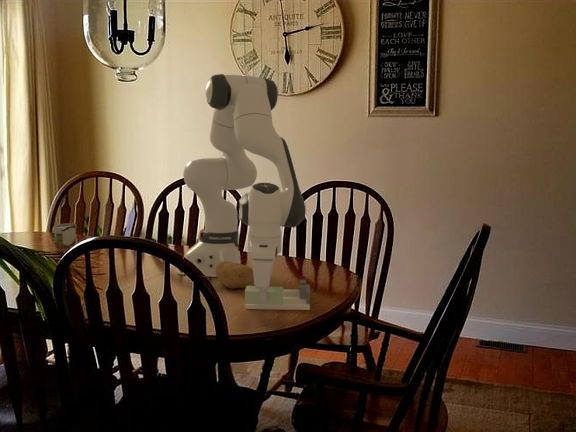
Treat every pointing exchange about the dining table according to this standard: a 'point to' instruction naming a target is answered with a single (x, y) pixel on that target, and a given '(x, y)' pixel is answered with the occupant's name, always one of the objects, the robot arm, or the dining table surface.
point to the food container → (65, 235)
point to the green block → (272, 298)
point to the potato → (234, 274)
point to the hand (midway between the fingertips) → (263, 295)
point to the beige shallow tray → (290, 299)
